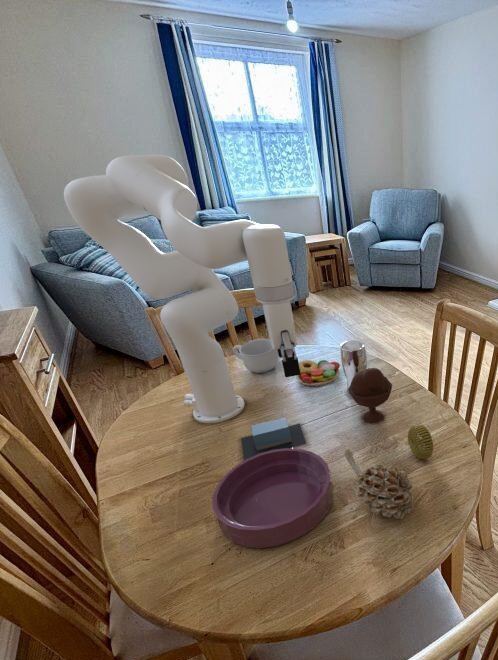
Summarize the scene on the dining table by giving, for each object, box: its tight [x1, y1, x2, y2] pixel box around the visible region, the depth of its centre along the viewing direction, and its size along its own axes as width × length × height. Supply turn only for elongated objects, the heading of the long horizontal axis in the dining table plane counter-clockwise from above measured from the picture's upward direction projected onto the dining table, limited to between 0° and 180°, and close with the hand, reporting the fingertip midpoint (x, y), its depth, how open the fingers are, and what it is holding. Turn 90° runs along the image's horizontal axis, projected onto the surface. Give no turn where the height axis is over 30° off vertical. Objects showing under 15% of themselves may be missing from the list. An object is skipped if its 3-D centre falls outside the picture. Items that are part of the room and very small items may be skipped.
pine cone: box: [344, 447, 415, 519], centre depth 82 cm, size 22×10×10 cm, turn 46°
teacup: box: [232, 338, 279, 374], centre depth 129 cm, size 14×11×8 cm
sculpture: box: [407, 424, 434, 460], centre depth 93 cm, size 8×4×8 cm, turn 29°
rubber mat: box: [240, 423, 307, 461], centre depth 99 cm, size 14×9×1 cm, turn 116°
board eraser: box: [250, 417, 292, 451], centre depth 98 cm, size 8×4×4 cm, turn 116°
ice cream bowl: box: [348, 367, 393, 424], centre depth 104 cm, size 11×11×15 cm
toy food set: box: [295, 359, 341, 387], centre depth 126 cm, size 13×13×3 cm
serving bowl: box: [211, 447, 334, 549], centre depth 81 cm, size 22×22×6 cm
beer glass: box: [340, 339, 368, 398], centre depth 115 cm, size 7×7×15 cm
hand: (289, 365), depth 91 cm, fingers open, 9 cm apart
